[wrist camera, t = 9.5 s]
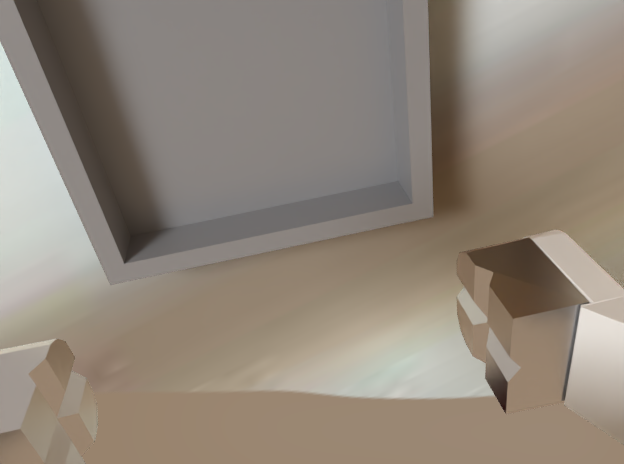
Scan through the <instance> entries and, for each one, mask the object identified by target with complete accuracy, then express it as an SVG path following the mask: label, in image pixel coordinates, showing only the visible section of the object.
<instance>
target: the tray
mask: <svg viewBox="0 0 624 464" xmlns="http://www.w3.org/2000/svg"><path fill="white" fill-rule="evenodd" d="M0 42H1V44H2V46H3V48H4V50H5V53H6V55H7V57H8V59H9V62H10V64H11V66H12V68H13V70H14V73H15V75H16V77H17V79H18V81H19V84H20V86H21V88H22V90H23V93H24V95H25V97H26V99H27V101H28V104H29V106H30V108H31V110H32V113H33V115H34V117H35V119H36V121H37V124H38V126H39V128H40V130H41V133H42V135H43V137H44V139H45V141H46V144H47V146H48V148H49V150H50V152H51V155H52V157H53V159H54V161H55V164H56V166H57V168H58V170H59V172H60V175H61V177H62V179H63V181H64V184H65V186H66V188H67V190H68V192H69V195H70V197H71V199H72V201H73V203H74V206H75V208H76V210H77V212H78V215H79V217H80V219H81V221H82V223H83V226H84V228H85V230H86V232H87V235H88V237H89V239H90V241H91V243H92V246H93V248H94V250H95V252H96V254H97V257H98V259H99V261H100V263H101V266H102V268H103V270H104V272H105V274H106V277H107V279H108V281H109V283H110V285H113V284H118V283H123V282H127V281H132V280H137V279H142V278H146V277H151V276H156V275H161V274H165V273H170V272H175V271H179V270H184V269H189V268H194V267H198V266H203V265H208V264H213V263H217V262H222V261H227V260H232V259H236V258H241V257H246V256H250V255H255V254H260V253H265V252H269V251H274V250H279V249H284V248H288V247H293V246H298V245H303V244H307V243H312V242H317V241H321V240H326V239H331V238H336V237H340V236H345V235H350V234H355V233H359V232H364V231H369V230H374V229H378V228H383V227H388V226H392V225H397V224H402V223H407V222H411V221H416V220H421V219H426V218H430V217H433V178H432V138H431V99H430V60H429V20H428V0H0Z"/></svg>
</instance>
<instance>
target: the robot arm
mask: <svg viewBox="0 0 624 464" xmlns="http://www.w3.org/2000/svg"><path fill="white" fill-rule="evenodd" d="M457 276H458V277H459V279H460V280H461V282H462V284H463V285H464V288H463V289H462V291H461V292H460V293H459V295H458V296H457V315H458V319H459V324H460V329H461V332H462V335H463V337H464V340H465V342H466V345H467V346H468V348H469V350H470V352H471V354H472V356H473V357H475V358H477V359H479V360H481V361H483V362H485V363H486V372H485V379H486V381H487V382H488V384H489V386H490V388H491V389H492V391H493V393H494V395H495V396H496V398H497V400H498V402H499V403H500V405H501V407H502V409H503V410H504V412H505V413H506V414H509V413H514V412H520V411H524V410H529V409H534V408H539V407H544V406H549V405H554V404H559V403H564V402H565V403H564V406H566V407H567V408H569V409H570V410H572V411H573V412H575V413H576V414H578V415H579V416H581V417H582V418H584V419H585V420H587V421H588V422H590V423H592V424H593V425H595V426H596V427H597V428H599V429H600V430H602V431H604V432H605V433H606V434H608V435H609V436H611V437H613V438H614V439H616V440H617V441H619V442H620V443H621V444H623V445H624V288H623V287H622V286H621V285H620V284H618V283H617V282H616V281H615V280H614V279H613V278H612V277H611V276H610V275H609V274H608V273H607V272H606V271H605V270H604V269H603V268H602V267H601V266H600V265H599V264H598V263H596V262H595V261H594V260H593V259H592V258H591V257H590V256H589V255H588V254H587V253H586V252H585V251H584V250H583V249H582V248H581V247H580V246H579V245H578V244H577V243H576V242H574V241H573V240H572V239H571V238H570V237H569V236H568V235H567V234H566V233H565V232H563V231H560V230H557V229H556V230H551V231H547V232H543V233H539V234H535V235H531V236H527V237H524V238H523V239H518V240H513V241H509V242H504V243H500V244H495V245H491V246H486V247H482V248H477V249H473V250H468V251H463V252H459V256H458V259H457ZM74 360H75V356H74V355H73V353H72V351H71V350H70V348H69V346H68V345H67V343H66V341H63V340H60V339H53V340H48V341H42V342H37V343H32V344H27V345H22V346H16V347H11V348H6V349H1V350H0V464H85V462H84V460H83V459H82V456H83V455H84V453H85V452H86V451H87V450H88V449H89V448H90V446H91V445H92V444H93V443H94V442H95V436H96V432H97V426H98V419H97V418H98V416H97V403H96V400H95V396H94V392H93V389H92V388H91V386H90V384H89V382H88V380H87V378H85V377H83V376H81V375H79V374H77V373H75V372H73V371H72V367H73V363H74Z"/></svg>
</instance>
